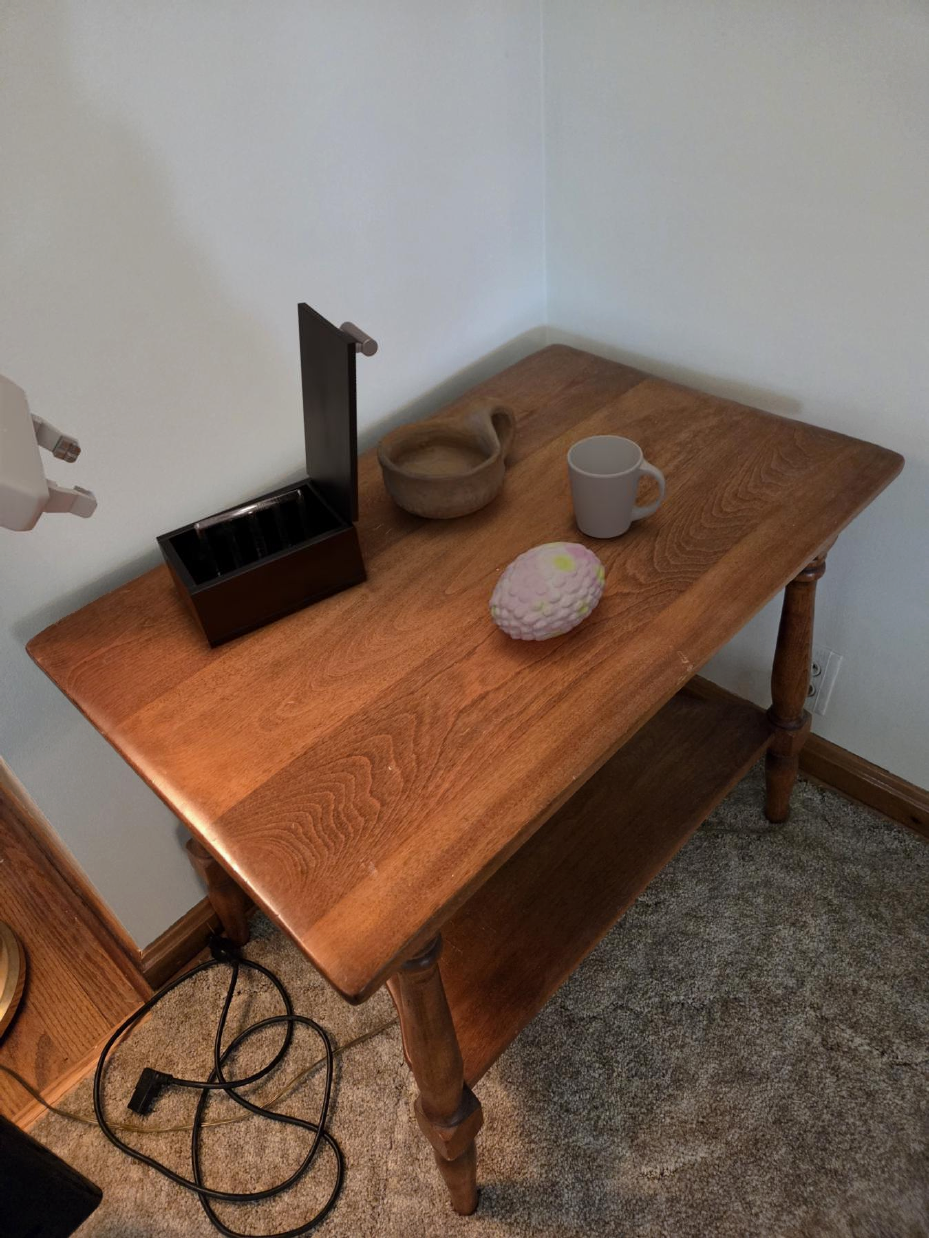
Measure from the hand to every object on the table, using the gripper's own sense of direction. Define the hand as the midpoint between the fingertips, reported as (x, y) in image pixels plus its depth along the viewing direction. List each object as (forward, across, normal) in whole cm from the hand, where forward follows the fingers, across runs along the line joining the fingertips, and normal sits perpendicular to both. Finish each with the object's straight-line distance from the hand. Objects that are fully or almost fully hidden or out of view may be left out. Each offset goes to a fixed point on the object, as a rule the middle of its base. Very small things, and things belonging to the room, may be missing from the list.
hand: (84, 478), depth 76 cm
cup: (+47, -8, -21) cm, 52 cm away
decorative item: (+38, -17, -11) cm, 43 cm away
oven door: (+17, +3, -14) cm, 22 cm away
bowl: (+39, +7, -12) cm, 41 cm away
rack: (+22, +2, +4) cm, 22 cm away
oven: (+22, +2, +4) cm, 23 cm away
